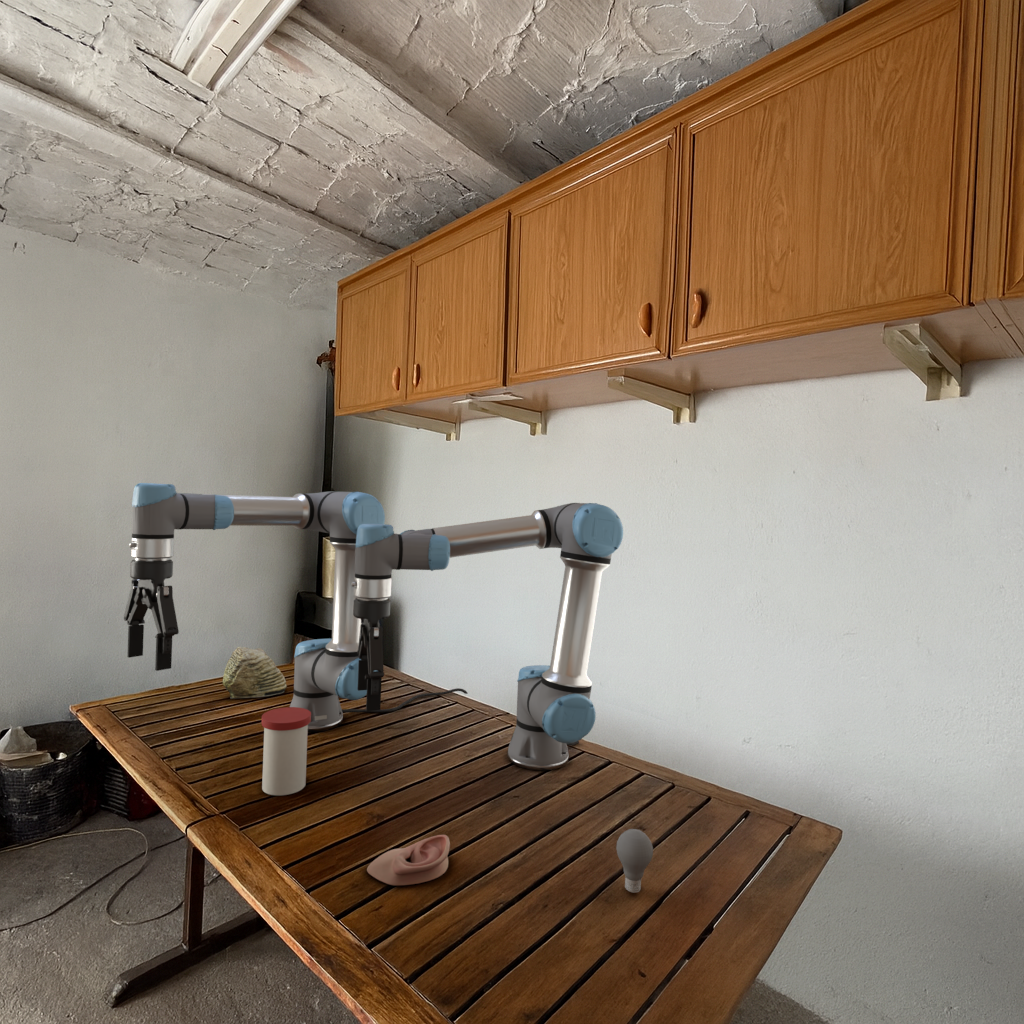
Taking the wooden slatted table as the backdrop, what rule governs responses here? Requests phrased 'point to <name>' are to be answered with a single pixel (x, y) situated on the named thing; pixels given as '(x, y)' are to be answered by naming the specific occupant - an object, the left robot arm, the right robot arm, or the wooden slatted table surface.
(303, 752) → the jar
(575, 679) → the right robot arm
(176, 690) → the wooden slatted table surface
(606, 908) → the wooden slatted table surface
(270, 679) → the fossil
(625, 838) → the light bulb
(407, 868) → the anatomical model
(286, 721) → the lid
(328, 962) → the wooden slatted table surface
